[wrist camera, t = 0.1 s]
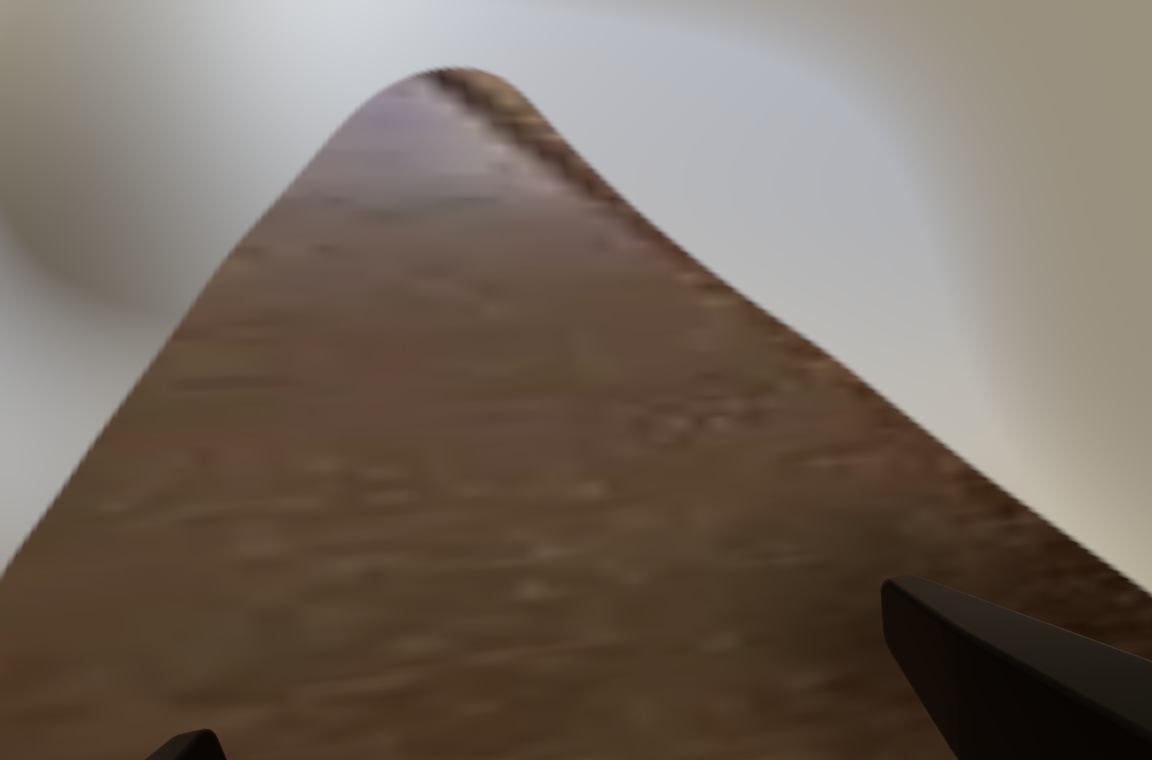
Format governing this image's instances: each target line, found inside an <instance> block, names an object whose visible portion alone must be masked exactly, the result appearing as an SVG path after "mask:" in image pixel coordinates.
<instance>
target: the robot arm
mask: <svg viewBox="0 0 1152 760" xmlns="http://www.w3.org/2000/svg"><path fill="white" fill-rule="evenodd" d="M881 604H882V619H883V632H884V637H885V640H886V643H887V646H888V648H889V650H890V652H891V653H892V655H893V657H894V658H895V660H896V661H897V663H898V665H899V666H900V668H901V670H902V671H903V673H904V674H905V676H906V678H907V679H908V681H909V682H910V684H911V686H912V687H913V689H914V691H915V692H916V694H917V695H918V697H919V699H920V700H921V702H922V704H923V705H924V707H925V708H926V710H927V712H928V713H929V715H930V716H931V718H932V720H933V721H934V723H935V725H936V726H937V728H938V729H939V731H940V733H941V734H942V736H943V738H944V739H945V741H946V742H947V744H948V745H949V747H950V749H951V750H952V752H953V753H954V755H955V756H956V758H957V759H958V760H1152V661H1151V660H1148V659H1145V658H1142V657H1140V656H1137V655H1134V654H1131V653H1129V652H1126V651H1123V650H1120V649H1118V648H1115V647H1112V646H1109V645H1107V644H1104V643H1101V642H1098V641H1096V640H1093V639H1090V638H1087V637H1085V636H1082V635H1079V634H1076V633H1074V632H1071V631H1068V630H1065V629H1063V628H1060V627H1057V626H1055V625H1052V624H1049V623H1046V622H1044V621H1041V620H1038V619H1035V618H1033V617H1030V616H1027V615H1024V614H1022V613H1019V612H1016V611H1013V610H1011V609H1008V608H1005V607H1002V606H1000V605H997V604H994V603H991V602H989V601H986V600H983V599H980V598H978V597H975V596H972V595H969V594H967V593H964V592H961V591H958V590H956V589H953V588H950V587H947V586H945V585H942V584H939V583H936V582H934V581H931V580H928V579H925V578H923V577H920V576H917V575H912V574H909V575H904V576H900V577H895V578H891V579H887V580H885V581H884V582H883V583H882V585H881ZM145 760H227V759H226V757H225V754H224V752H223V750H222V747H221V745H220V742H219V740H218V738H217V736H216V734H215V733H214V732H213V731H212V730H210V729H201V730H196V731H192V732H187V733H183V734H179V735H177V736H175V737H173V738H172V739H170V740H169V741H168V742H166V743H165V744H164V745H162V746H161V747H160V748H159V749H157V750H156V751H155V752H154V753H152V754H151V755H150V756H149V757H147V758H146V759H145Z"/></svg>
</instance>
